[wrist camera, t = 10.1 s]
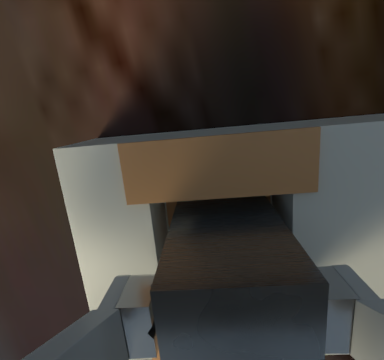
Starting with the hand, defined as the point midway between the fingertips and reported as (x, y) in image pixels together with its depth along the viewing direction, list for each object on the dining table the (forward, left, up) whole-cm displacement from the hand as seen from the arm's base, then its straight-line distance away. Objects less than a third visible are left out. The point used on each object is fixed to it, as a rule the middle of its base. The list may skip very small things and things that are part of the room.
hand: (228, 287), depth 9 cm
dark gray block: (0, 0, -4) cm, 5 cm away
